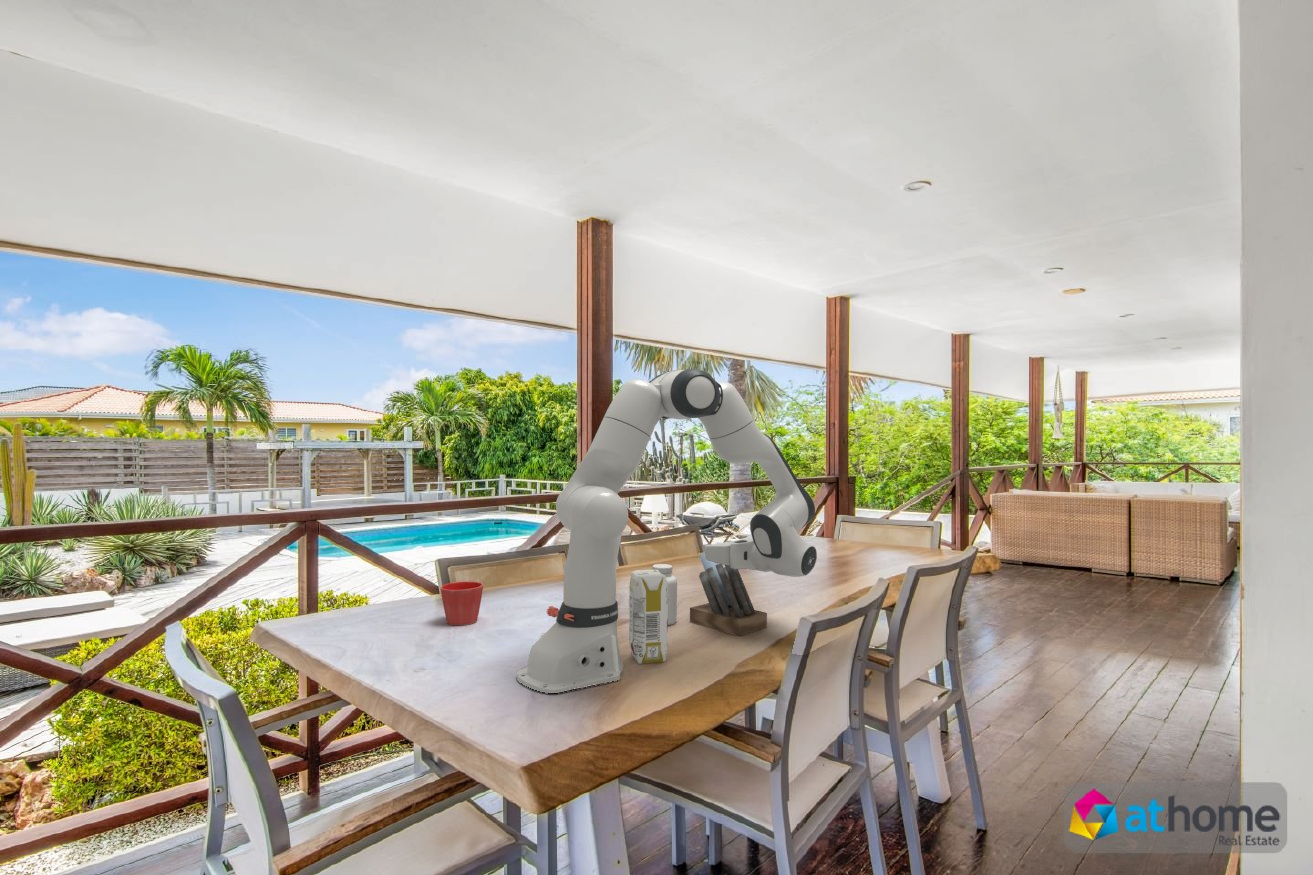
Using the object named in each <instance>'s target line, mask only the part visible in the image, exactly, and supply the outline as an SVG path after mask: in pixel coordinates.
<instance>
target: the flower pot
mask: <svg viewBox="0 0 1313 875" xmlns="http://www.w3.org/2000/svg"><path fill="white" fill-rule="evenodd" d="M483 590H484V583H482V582H478V581H454V582H450V583H446V584H443V585H441V586H440V594H441V601H442V605H443V610H444V614H445V616H444V617H445V621H446V623H447V625H449V624H450V626H467V625H472V624H475V623H476V622H478V618H479V614H480V613H479V612H480V608H481V602H482V596H483Z"/></svg>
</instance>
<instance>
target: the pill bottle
mask: <svg viewBox="0 0 1313 875" xmlns="http://www.w3.org/2000/svg"><path fill="white" fill-rule="evenodd" d="M651 570H658V571H659V572H660V573H661V574H664V575H666V580H667V585H668V626H670V625H674V624H676V623H677V616H678V615H677V614H678V613H677V612H678V611H677V610H678V580H677V578H676V576H675V575H673V566H672V565H671V564H667V563H656V564H653V565H652V569H651Z"/></svg>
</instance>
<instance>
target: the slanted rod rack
mask: <svg viewBox="0 0 1313 875" xmlns="http://www.w3.org/2000/svg"><path fill="white" fill-rule="evenodd" d="M716 569H717V571H718V574H719V576H720V579H721V581H722V584H723V586H724V589H725V591H726V594H727V597H728V599H729V602H730V604H731V606H730V607H728V606H727V603H726V600H725V598H724V595H723V593H722V590H721V588H720V585H719V583H718V580H717V577H716V575H715V572H714V570H713V567H711V568H708V569H706V571H707V572H706V571H705V570H704V571H701V572H700V573H699V575H698V578H699V581H700V583H701V586H702V588H703V591H704V594H705V596H706V599H707V601H708V603H704V604H700V605H696V606H691V607H689V623H691V624H696V625H699V626H702V627H706V628H709V629H713V630H717V631H719V632H724V633H726V634H727V633H728V634H730V635H733V636H738V637H740V636H744V635H747V634H751V633H754V632H758V631H760V630H763V629H767V628H768V613H767V612H765V611H761V610H756V609H755V608H754V605H753V602H752V600H751V598H750V595H749V593H748V591H747V588H746V585H745V583H744V581H743V578H742V576H741V573H740V571H739V569H732V568H731V567H730V565H723V564H719V563H718V565H716ZM707 573H708V575H707ZM708 576H709V577H708ZM709 579H710V580H709ZM710 581H711V583H710ZM711 584H712V585H711ZM712 586H713V588H712ZM713 589H714V590H713ZM714 592H715V593H714ZM715 594H716V595H715ZM716 597H717V598H716ZM717 599H718V601H717ZM718 602H719V603H718ZM719 604H720V606H719ZM720 607H721V608H720Z"/></svg>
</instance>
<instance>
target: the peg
mask: <svg viewBox="0 0 1313 875" xmlns="http://www.w3.org/2000/svg"><path fill="white" fill-rule="evenodd" d="M698 556H699V560H700V561H701V565H702V566H703V567H702V568H703V569H704V571H706V569H708V568H711V567H713V570H714V572H715V575H716V577H717V580H718V583H719V585H720V588H721V590H722V593H723V595H724V598H725V600H726V603H727V606H728V607H730V606H731V604H730V602H729V599H728V597H727V594H726V591H725V589H724V586H723V584H722V581H721V579H720V576H719V574H718V571H717V569H716V565H718V564H719V563H715V562H711V561H708V560H707V559H706V558H705V552H703V553H701V554H699V555H698ZM706 572H707V571H706ZM707 575H708V573H707ZM708 577H709V576H708ZM709 580H710V579H709ZM710 583H711V581H710ZM711 585H712V584H711ZM712 588H713V586H712ZM713 590H714V589H713ZM714 593H715V592H714ZM715 595H716V594H715ZM716 598H717V597H716ZM717 601H718V599H717ZM718 603H719V602H718ZM719 606H720V604H719ZM720 608H721V607H720Z"/></svg>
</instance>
